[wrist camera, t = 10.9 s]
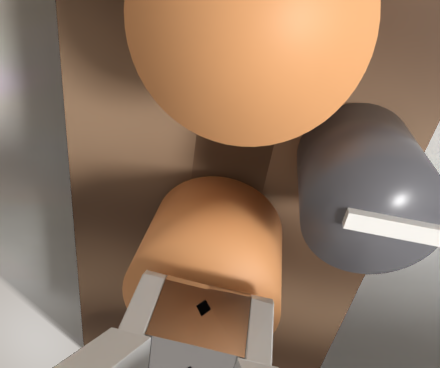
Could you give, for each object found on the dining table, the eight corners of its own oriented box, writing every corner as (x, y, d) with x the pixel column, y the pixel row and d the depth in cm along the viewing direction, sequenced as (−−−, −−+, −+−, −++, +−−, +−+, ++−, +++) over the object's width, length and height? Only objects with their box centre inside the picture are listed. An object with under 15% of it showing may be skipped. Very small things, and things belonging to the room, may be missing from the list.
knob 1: (216, -93, 12) (125, -153, 5) (345, -72, 12) (427, -104, 5) (202, 40, 14) (122, 124, 7) (310, 60, 14) (333, 166, 7)
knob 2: (194, 105, 15) (122, 227, 9) (293, 124, 15) (299, 264, 8) (185, 188, 17) (121, 338, 11) (271, 205, 17) (263, 369, 10)
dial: (312, 93, 10) (321, 147, 7) (431, 113, 10) (488, 177, 7) (286, 190, 11) (286, 265, 9) (388, 209, 11) (420, 292, 8)
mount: (128, -169, 11) (35, -239, 7) (463, -116, 11) (574, -158, 7) (123, 288, 22) (85, 368, 18) (294, 325, 22) (296, 416, 17)
